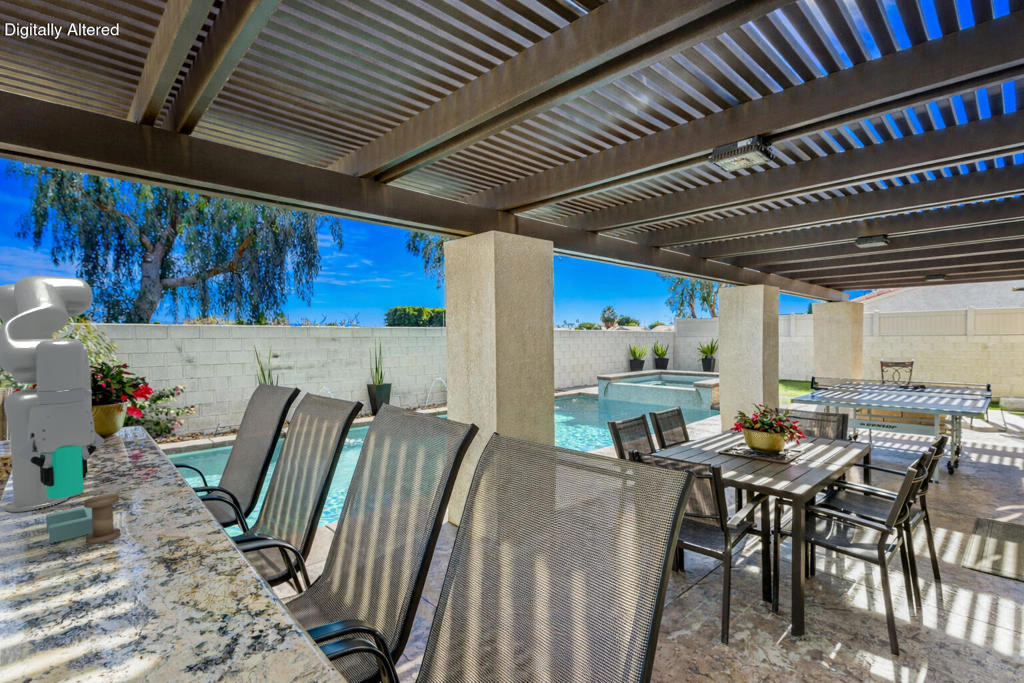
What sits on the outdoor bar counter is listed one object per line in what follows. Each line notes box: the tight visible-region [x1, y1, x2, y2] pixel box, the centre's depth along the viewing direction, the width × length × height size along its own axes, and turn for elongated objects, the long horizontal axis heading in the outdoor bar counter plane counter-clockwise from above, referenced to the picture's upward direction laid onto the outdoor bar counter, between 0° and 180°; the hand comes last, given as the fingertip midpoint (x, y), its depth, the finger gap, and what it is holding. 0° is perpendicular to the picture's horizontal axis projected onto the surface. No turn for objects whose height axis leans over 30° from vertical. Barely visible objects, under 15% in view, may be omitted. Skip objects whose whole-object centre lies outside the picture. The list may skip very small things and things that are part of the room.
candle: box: [46, 446, 85, 499], centre depth 105 cm, size 6×6×12 cm
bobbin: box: [83, 493, 121, 545], centre depth 110 cm, size 6×6×9 cm
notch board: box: [45, 506, 93, 544], centre depth 115 cm, size 12×9×4 cm
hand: (64, 480), depth 105 cm, fingers closed on candle, 4 cm apart
